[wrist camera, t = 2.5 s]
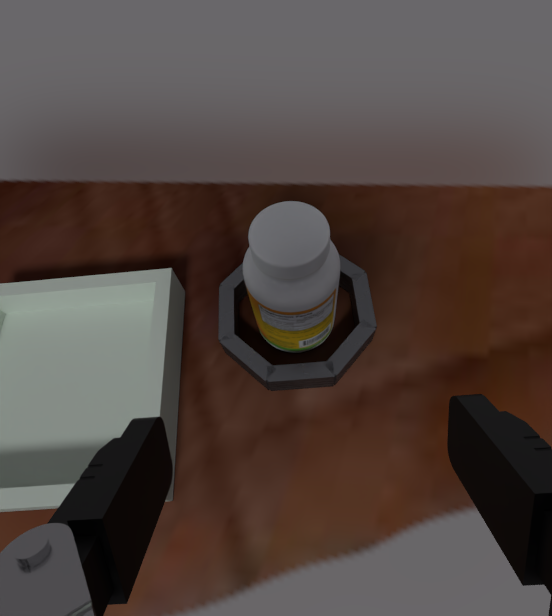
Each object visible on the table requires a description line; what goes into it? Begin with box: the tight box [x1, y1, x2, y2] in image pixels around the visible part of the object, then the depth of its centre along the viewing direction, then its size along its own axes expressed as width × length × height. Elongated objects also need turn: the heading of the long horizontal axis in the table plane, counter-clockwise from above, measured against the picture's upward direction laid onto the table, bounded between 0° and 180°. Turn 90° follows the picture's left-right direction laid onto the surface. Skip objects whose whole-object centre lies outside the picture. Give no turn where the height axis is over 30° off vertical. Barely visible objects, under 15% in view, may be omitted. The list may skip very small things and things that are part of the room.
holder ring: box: [219, 255, 377, 391], centre depth 27 cm, size 10×10×2 cm
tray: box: [0, 268, 185, 512], centre depth 25 cm, size 14×14×3 cm
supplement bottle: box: [243, 201, 340, 353], centre depth 23 cm, size 5×5×10 cm
